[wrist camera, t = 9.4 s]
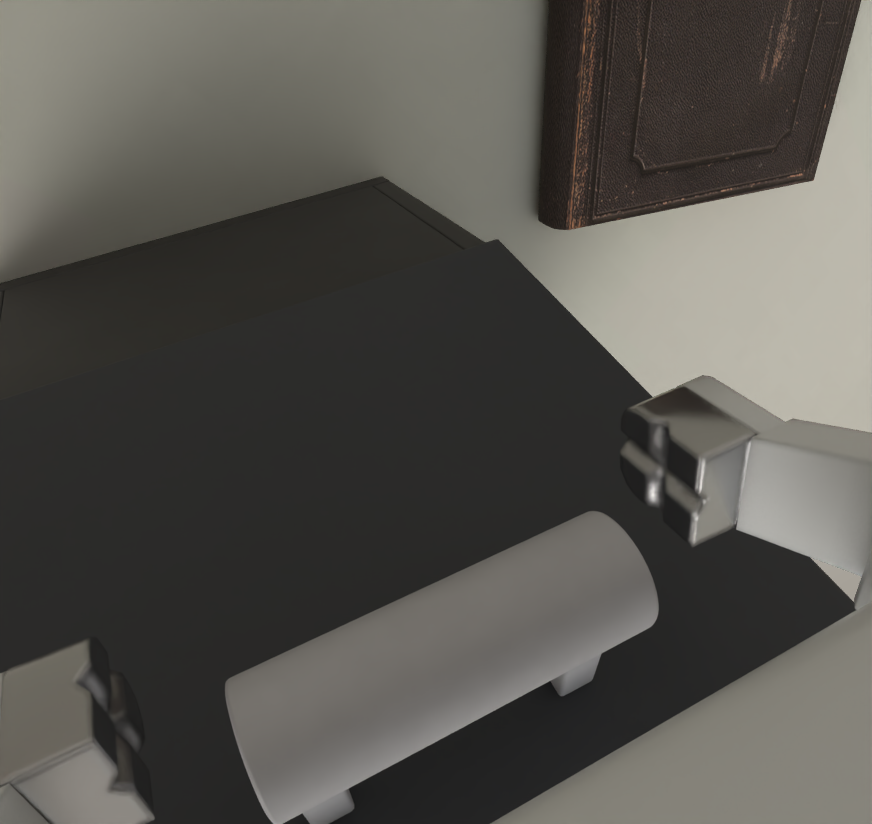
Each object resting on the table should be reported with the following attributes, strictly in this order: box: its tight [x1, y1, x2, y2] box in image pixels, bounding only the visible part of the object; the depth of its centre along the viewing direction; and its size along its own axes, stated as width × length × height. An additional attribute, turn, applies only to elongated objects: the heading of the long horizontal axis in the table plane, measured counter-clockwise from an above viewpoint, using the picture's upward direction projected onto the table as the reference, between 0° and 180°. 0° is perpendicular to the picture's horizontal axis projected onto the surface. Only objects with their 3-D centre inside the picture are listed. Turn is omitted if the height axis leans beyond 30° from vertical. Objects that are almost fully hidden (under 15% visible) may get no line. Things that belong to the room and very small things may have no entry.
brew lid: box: [0, 239, 856, 824], centre depth 14 cm, size 14×16×5 cm
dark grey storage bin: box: [0, 177, 485, 400], centre depth 27 cm, size 14×16×9 cm
